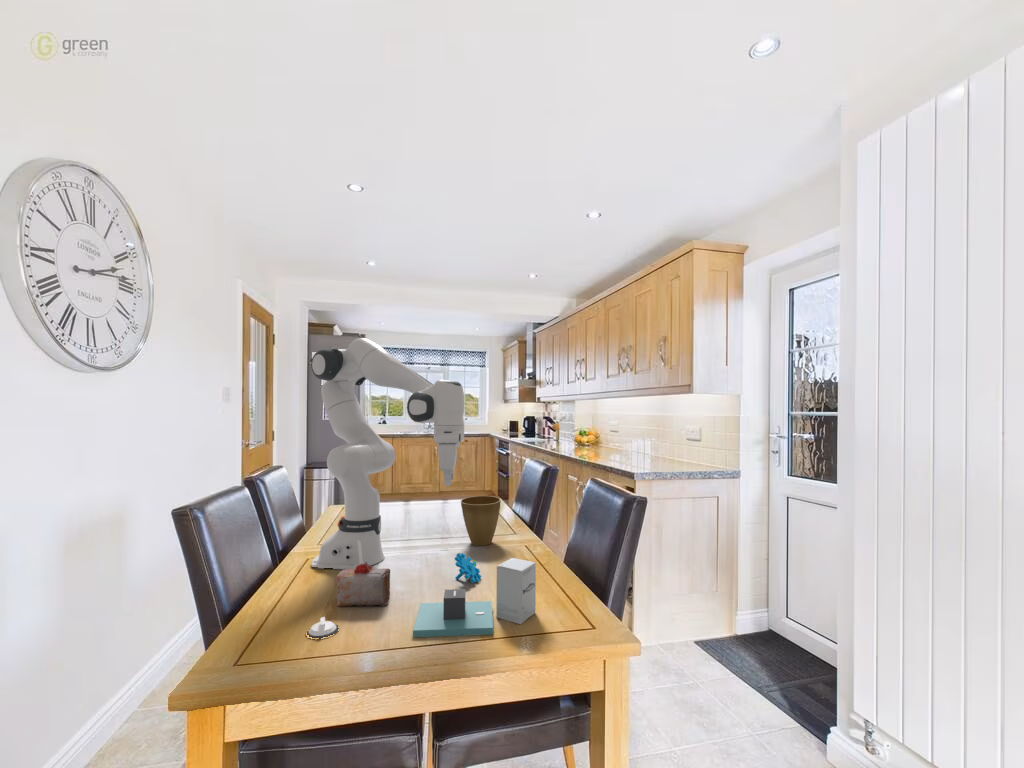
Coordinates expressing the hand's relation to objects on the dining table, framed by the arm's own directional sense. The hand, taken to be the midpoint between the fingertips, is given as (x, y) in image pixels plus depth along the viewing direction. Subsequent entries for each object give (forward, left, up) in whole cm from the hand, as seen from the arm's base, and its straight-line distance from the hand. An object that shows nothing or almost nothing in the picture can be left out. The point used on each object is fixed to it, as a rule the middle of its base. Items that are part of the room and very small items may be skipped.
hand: (448, 482), depth 135 cm
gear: (+6, +3, -29) cm, 30 cm away
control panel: (+3, -23, -29) cm, 37 cm away
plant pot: (+9, +38, -29) cm, 49 cm away
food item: (-22, -10, -29) cm, 38 cm away
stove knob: (-27, -26, -30) cm, 48 cm away
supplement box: (+18, -21, -29) cm, 40 cm away
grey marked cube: (+3, -23, -28) cm, 36 cm away
